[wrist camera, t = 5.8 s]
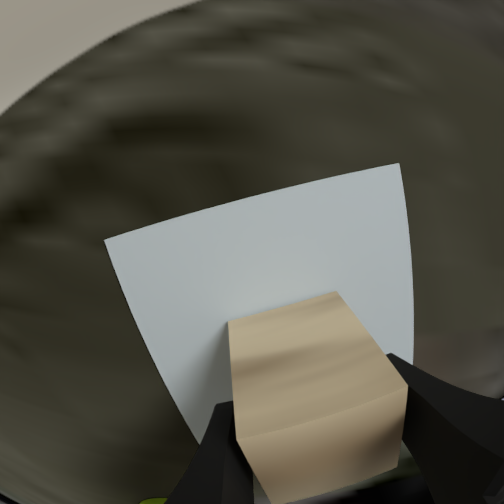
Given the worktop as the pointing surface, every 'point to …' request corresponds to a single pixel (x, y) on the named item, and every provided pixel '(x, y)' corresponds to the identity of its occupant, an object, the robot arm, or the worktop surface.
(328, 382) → the maple block
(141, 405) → the worktop surface
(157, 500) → the soap dispenser
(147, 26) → the worktop surface
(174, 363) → the blue-grey mat
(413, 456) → the robot arm
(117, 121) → the worktop surface
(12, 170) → the worktop surface
